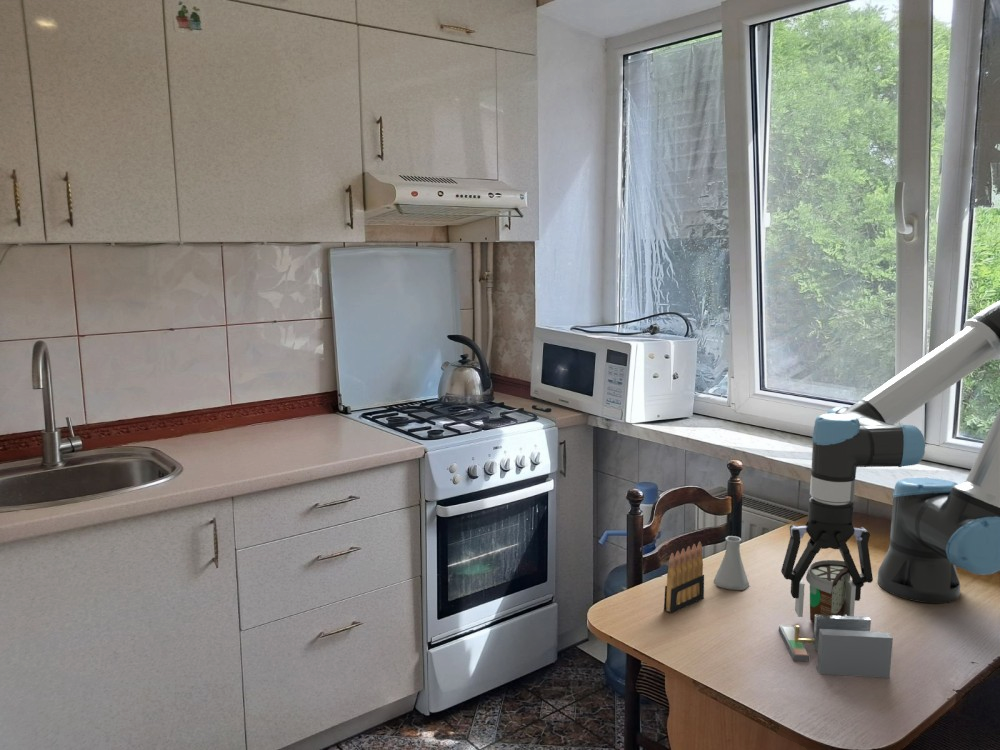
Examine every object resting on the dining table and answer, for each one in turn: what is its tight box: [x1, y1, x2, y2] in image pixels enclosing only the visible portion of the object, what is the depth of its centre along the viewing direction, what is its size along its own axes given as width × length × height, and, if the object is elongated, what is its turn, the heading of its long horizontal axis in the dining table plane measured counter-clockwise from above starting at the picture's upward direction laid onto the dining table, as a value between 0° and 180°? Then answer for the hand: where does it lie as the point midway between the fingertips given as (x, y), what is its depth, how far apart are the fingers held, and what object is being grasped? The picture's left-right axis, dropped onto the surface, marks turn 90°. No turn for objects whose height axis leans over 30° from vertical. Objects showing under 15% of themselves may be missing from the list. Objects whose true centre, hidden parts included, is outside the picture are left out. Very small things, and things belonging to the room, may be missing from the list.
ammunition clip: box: [663, 541, 705, 615], centre depth 158 cm, size 11×2×12 cm, turn 131°
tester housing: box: [778, 624, 894, 679], centre depth 139 cm, size 14×15×7 cm
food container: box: [805, 559, 851, 625], centre depth 150 cm, size 12×6×10 cm, turn 141°
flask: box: [713, 535, 750, 591], centre depth 167 cm, size 7×7×10 cm
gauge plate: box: [794, 615, 872, 651], centre depth 139 cm, size 12×1×6 cm, turn 84°
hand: (823, 614), depth 150 cm, fingers open, 8 cm apart
